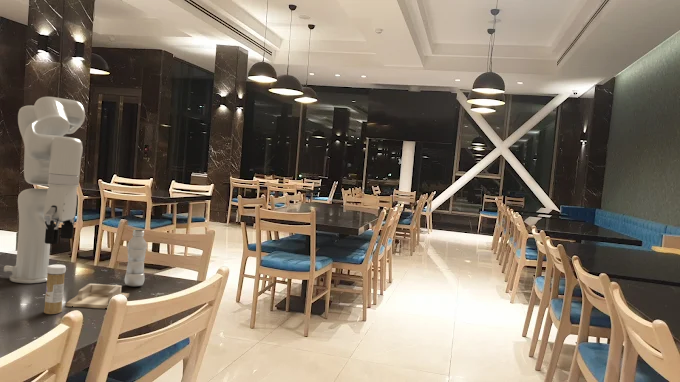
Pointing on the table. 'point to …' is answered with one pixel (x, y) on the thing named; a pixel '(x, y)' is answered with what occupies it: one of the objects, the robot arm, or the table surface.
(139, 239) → the plastic bottle
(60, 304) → the sprinkles bottle
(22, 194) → the robot arm
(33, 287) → the table surface
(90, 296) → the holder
